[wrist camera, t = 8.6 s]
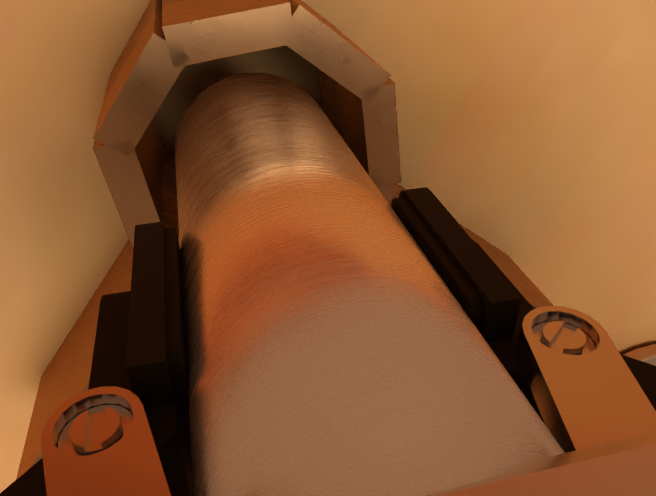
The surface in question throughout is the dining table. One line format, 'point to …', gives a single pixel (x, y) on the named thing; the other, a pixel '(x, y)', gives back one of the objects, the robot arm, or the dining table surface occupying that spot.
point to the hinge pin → (323, 319)
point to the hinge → (159, 167)
